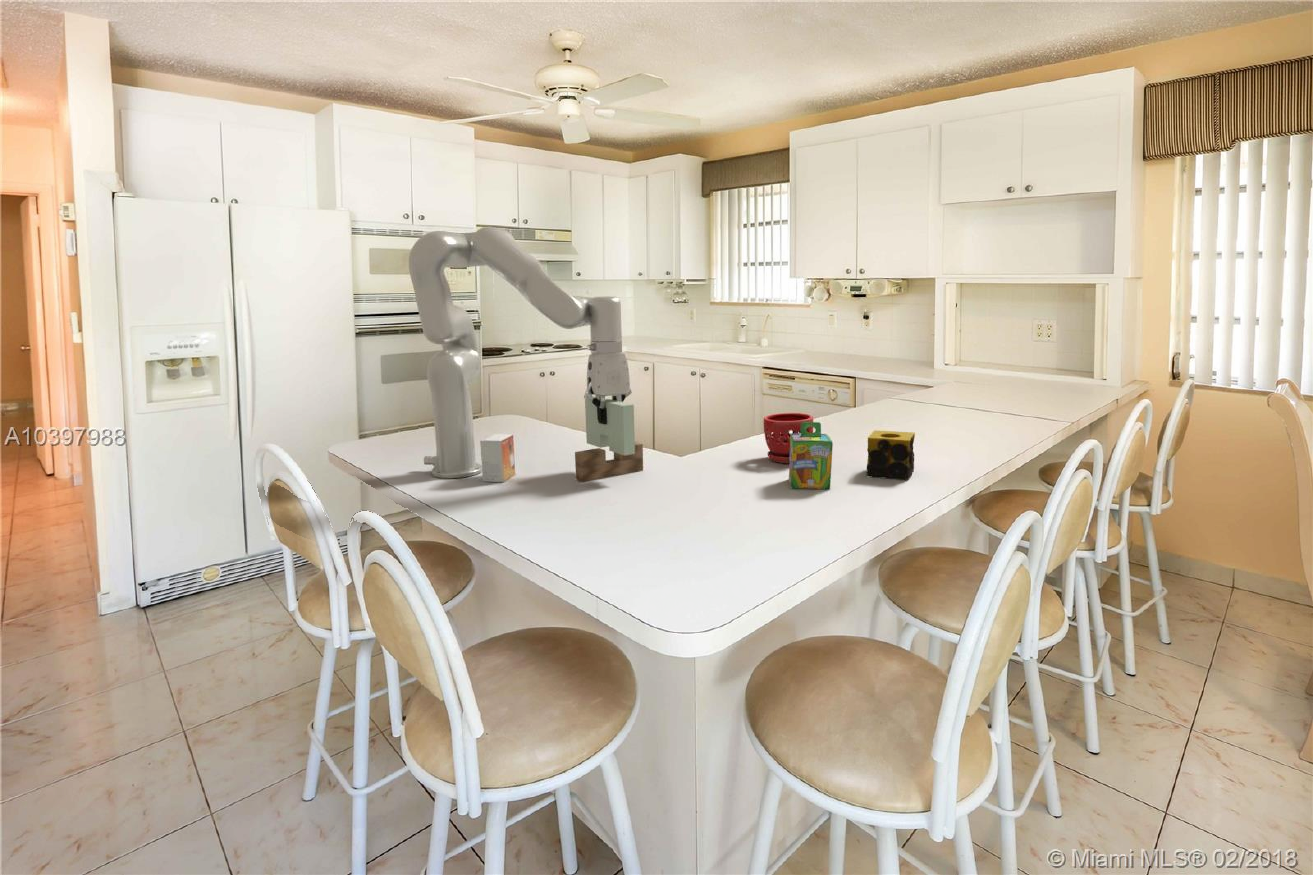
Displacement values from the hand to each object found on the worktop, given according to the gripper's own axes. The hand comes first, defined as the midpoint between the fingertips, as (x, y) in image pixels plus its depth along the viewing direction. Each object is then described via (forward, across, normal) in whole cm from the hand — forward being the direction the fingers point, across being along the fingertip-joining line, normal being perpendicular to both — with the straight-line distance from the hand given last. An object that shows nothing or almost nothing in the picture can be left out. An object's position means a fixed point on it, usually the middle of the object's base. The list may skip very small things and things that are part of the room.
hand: (609, 421), depth 183 cm
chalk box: (+14, +32, -37) cm, 51 cm away
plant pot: (+14, +46, -16) cm, 51 cm away
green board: (+7, 0, 0) cm, 7 cm away
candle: (+14, +55, -42) cm, 71 cm away
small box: (+14, -23, +15) cm, 31 cm away
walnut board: (+14, 0, 0) cm, 14 cm away
